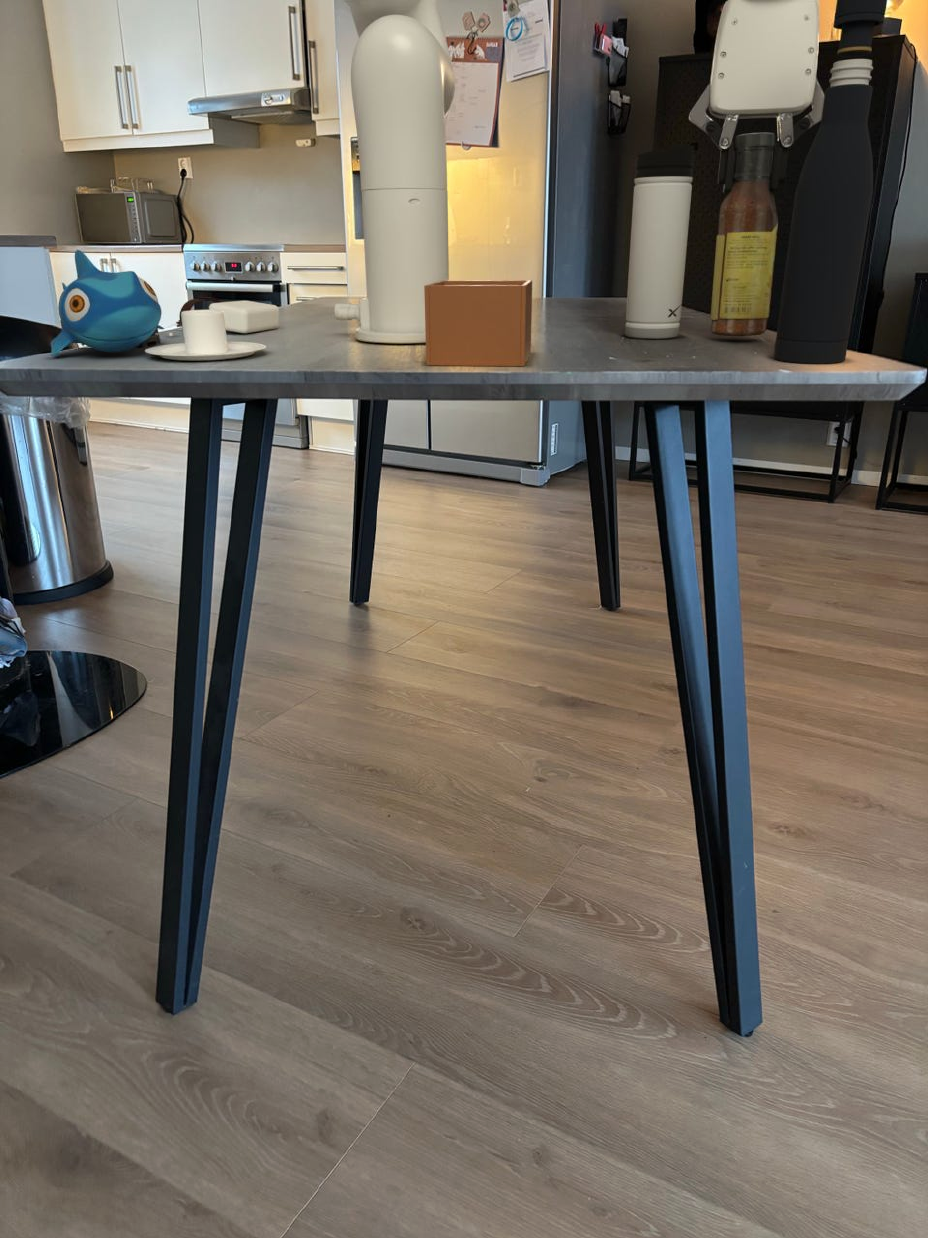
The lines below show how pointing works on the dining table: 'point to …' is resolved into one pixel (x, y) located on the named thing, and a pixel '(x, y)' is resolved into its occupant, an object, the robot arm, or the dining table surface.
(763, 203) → the sauce bottle
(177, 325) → the witch figurine
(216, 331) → the candle holder
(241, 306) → the soap
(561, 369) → the dining table surface
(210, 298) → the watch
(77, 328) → the toy
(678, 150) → the travel mug
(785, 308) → the black water bottle
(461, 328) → the box
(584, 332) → the dining table surface
